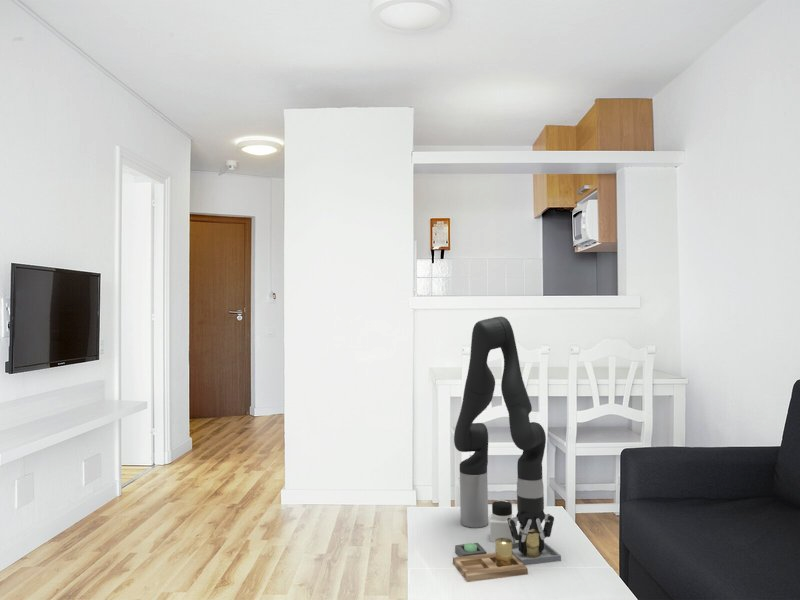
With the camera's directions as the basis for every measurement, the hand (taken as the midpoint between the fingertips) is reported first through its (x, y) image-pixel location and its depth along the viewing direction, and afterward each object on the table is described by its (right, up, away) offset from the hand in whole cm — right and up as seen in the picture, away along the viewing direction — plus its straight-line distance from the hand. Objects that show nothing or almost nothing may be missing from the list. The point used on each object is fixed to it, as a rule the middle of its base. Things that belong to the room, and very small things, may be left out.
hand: (531, 552), depth 175 cm
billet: (0, -1, 0) cm, 1 cm away
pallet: (-13, -2, -9) cm, 16 cm away
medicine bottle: (-6, -2, +13) cm, 14 cm away
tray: (0, -2, 0) cm, 2 cm away
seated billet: (-9, -1, -8) cm, 12 cm away
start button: (-17, -1, 0) cm, 17 cm away
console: (-17, -2, 0) cm, 18 cm away
